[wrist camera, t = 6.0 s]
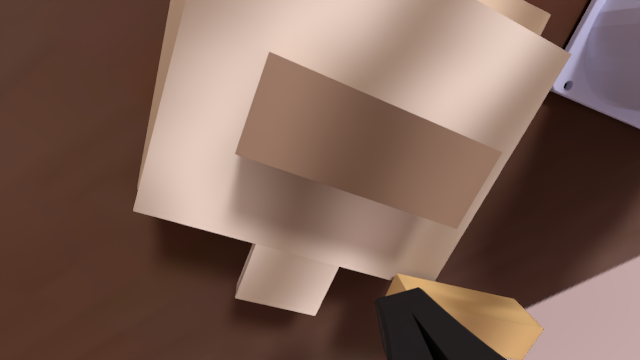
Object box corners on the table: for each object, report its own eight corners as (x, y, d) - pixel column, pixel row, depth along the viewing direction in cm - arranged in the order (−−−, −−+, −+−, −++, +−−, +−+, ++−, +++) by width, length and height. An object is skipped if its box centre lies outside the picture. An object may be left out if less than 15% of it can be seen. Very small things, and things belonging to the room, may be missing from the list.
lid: (551, 54, 14) (654, 53, 10) (395, 320, 18) (427, 389, 14) (227, -128, 10) (201, -232, 6) (127, 258, 14) (77, 327, 11)
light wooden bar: (514, 299, 17) (544, 329, 15) (495, 328, 17) (522, 360, 16) (396, 273, 15) (413, 303, 13) (380, 306, 16) (394, 339, 14)
